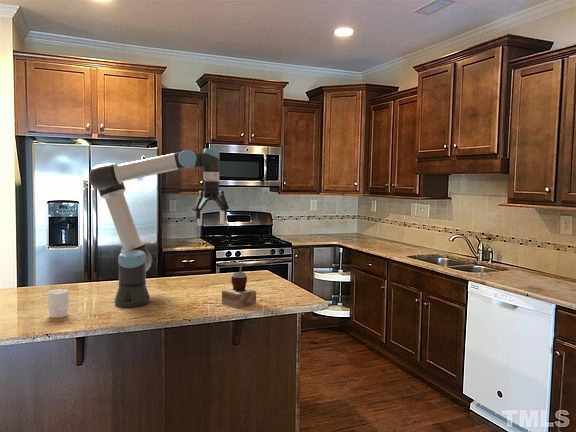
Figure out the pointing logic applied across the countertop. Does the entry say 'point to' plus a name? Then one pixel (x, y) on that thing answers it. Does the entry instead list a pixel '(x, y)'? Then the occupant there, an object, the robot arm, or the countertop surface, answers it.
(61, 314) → the white cup
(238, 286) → the mate gourd
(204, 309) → the countertop surface
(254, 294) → the brown cardboard box
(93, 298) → the countertop surface
